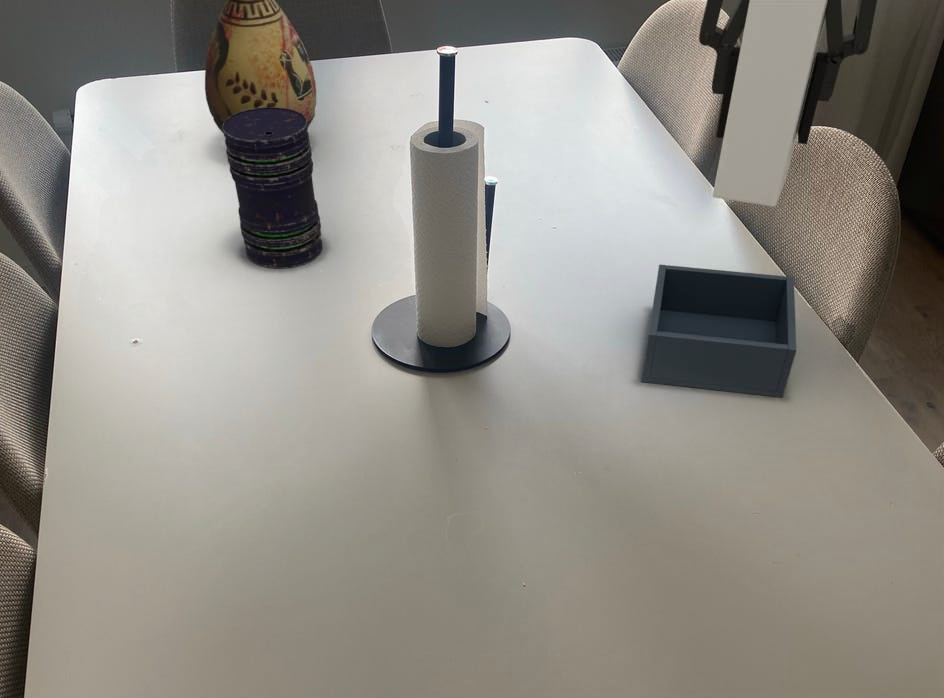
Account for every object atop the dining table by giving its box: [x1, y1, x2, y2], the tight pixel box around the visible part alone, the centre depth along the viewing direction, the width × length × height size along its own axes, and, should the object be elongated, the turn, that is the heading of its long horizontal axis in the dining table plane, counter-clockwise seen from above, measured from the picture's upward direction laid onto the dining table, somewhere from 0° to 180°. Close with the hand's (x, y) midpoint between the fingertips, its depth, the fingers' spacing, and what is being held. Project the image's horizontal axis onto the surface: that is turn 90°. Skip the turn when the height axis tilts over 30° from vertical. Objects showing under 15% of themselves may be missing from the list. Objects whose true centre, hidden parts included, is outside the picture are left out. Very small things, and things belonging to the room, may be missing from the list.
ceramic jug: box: [204, 0, 317, 135], centre depth 128 cm, size 17×15×30 cm
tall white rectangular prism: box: [712, 0, 828, 208], centre depth 82 cm, size 6×6×22 cm
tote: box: [641, 264, 797, 398], centre depth 101 cm, size 15×15×6 cm
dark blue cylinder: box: [222, 107, 324, 270], centre depth 114 cm, size 10×10×15 cm
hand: (761, 134), depth 86 cm, fingers closed on tall white rectangular prism, 7 cm apart
